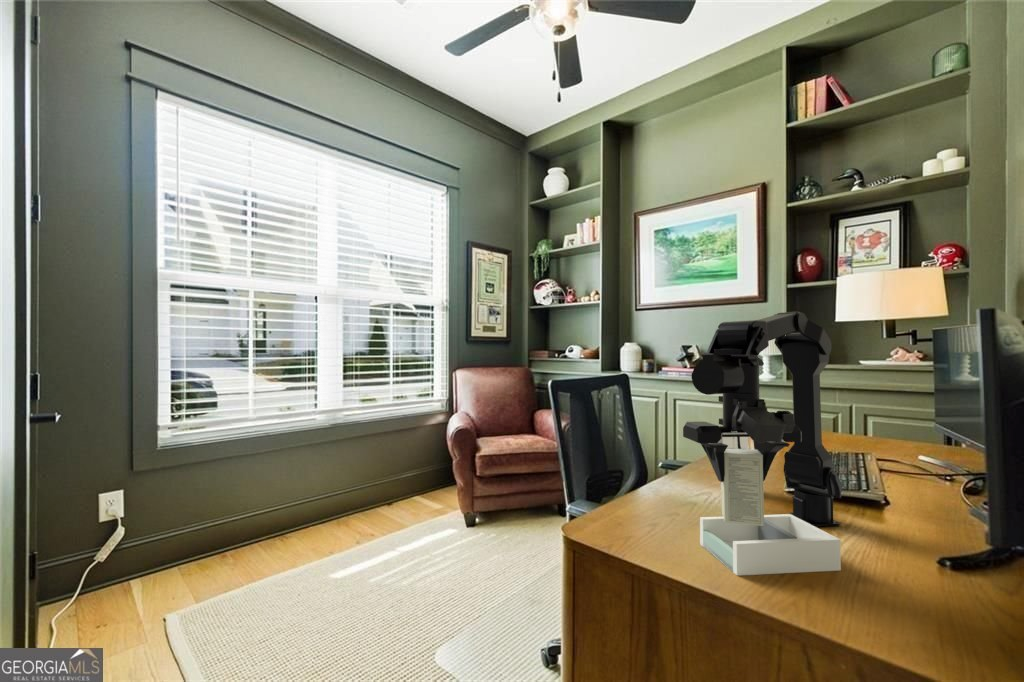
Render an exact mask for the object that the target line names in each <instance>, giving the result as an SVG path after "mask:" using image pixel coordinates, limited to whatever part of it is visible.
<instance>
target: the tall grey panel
mask: <svg viewBox="0 0 1024 682" xmlns="http://www.w3.org/2000/svg"><path fill="white" fill-rule="evenodd" d="M774 539H797V537H795V536H794V535H792V534H790V533H788V532H787V531H785V530H783V529H781V528H780V527H778V526H776V525H774V524H773V523H771V522H769V521H767V520H766V519H764V526H758V540H774Z"/></svg>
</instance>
